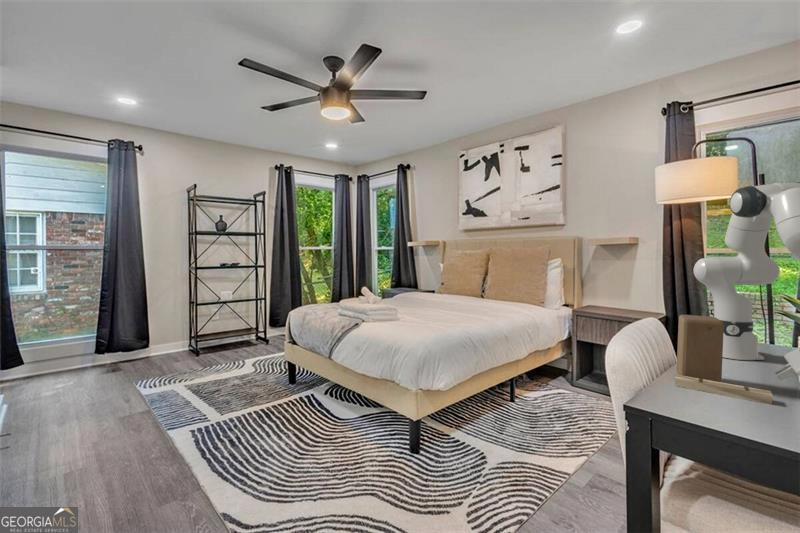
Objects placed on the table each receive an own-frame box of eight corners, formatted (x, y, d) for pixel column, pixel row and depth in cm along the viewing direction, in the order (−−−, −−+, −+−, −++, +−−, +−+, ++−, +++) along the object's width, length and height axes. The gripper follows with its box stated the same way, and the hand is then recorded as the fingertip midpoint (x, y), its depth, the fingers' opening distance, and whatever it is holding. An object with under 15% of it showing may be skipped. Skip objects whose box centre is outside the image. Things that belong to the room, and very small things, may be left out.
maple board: (675, 382, 115) (676, 374, 115) (770, 399, 102) (770, 390, 102) (674, 385, 112) (675, 377, 112) (772, 404, 99) (772, 395, 99)
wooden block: (722, 386, 112) (724, 321, 111) (681, 380, 117) (683, 318, 116) (713, 377, 120) (716, 316, 119) (676, 371, 125) (678, 313, 124)
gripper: (810, 333, 108) (762, 359, 115) (828, 347, 93) (771, 377, 99) (832, 351, 106) (782, 377, 112) (854, 368, 90) (794, 397, 97)
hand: (777, 377), depth 106 cm, fingers closed
